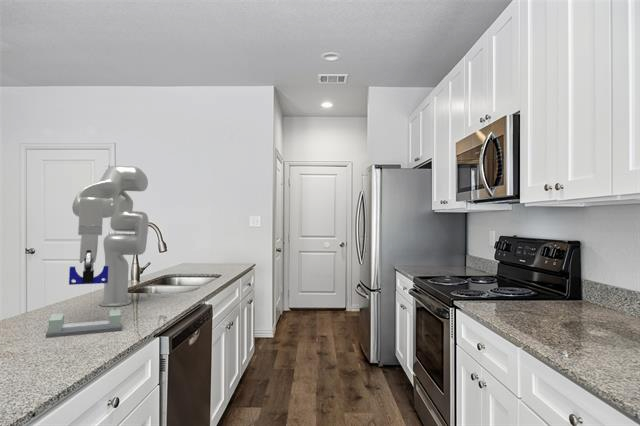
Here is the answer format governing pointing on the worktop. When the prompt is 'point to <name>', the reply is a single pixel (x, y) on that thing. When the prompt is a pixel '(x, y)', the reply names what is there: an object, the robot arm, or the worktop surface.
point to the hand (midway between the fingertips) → (88, 281)
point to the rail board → (83, 325)
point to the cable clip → (79, 280)
